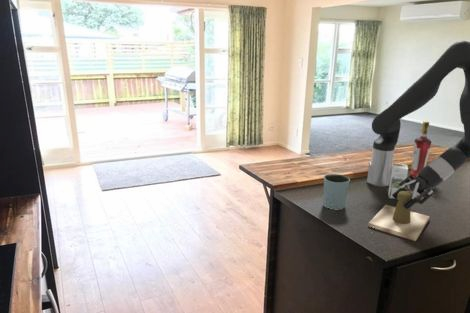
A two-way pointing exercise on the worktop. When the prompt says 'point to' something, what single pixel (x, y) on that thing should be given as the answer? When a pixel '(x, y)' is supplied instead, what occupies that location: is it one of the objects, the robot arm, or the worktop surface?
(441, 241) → the worktop surface
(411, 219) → the birch board
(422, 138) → the liquor
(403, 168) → the syrup box
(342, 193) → the blue-grey cup
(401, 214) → the cork
